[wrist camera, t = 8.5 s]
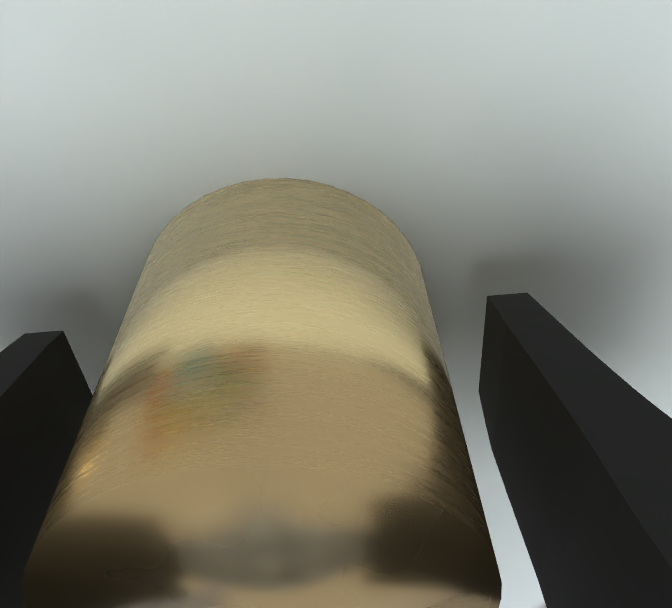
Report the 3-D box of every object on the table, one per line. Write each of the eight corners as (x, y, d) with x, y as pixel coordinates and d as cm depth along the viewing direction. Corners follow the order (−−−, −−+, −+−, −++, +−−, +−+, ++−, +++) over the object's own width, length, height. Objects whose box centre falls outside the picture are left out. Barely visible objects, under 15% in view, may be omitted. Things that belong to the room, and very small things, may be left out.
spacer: (423, 393, 12) (485, 694, 8) (179, 413, 12) (109, 720, 8) (425, 164, 9) (526, 445, 5) (104, 192, 9) (-73, 491, 5)
